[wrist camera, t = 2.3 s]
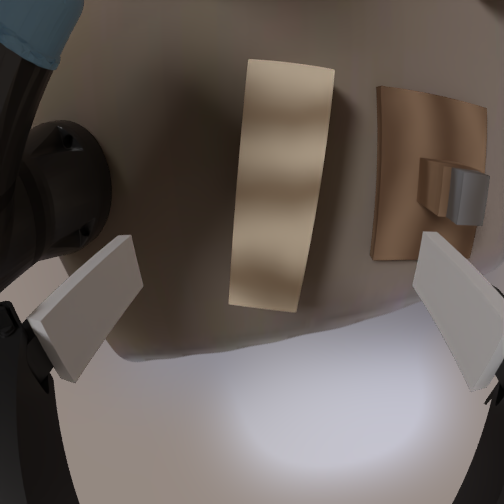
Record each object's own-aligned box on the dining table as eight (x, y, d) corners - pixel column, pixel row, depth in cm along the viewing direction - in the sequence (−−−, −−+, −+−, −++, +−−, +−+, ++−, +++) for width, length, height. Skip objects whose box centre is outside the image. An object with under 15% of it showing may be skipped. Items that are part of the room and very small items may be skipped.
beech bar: (294, 283, 30) (295, 312, 25) (236, 275, 30) (228, 304, 26) (324, 79, 21) (334, 69, 16) (254, 70, 21) (248, 59, 17)
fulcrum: (369, 254, 27) (392, 296, 20) (376, 87, 20) (410, 77, 14) (464, 253, 26) (498, 288, 19) (480, 107, 19) (527, 112, 12)
